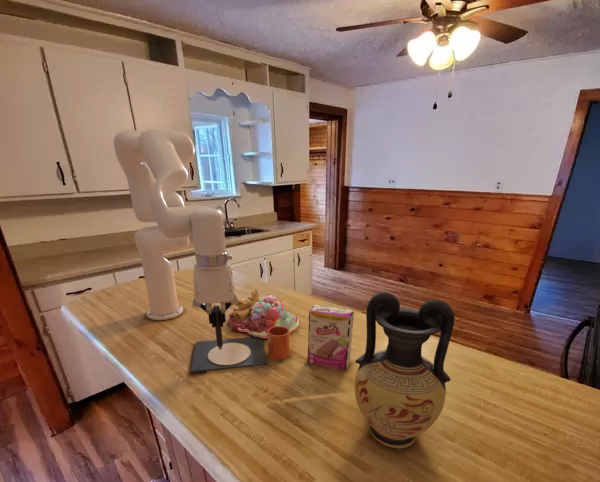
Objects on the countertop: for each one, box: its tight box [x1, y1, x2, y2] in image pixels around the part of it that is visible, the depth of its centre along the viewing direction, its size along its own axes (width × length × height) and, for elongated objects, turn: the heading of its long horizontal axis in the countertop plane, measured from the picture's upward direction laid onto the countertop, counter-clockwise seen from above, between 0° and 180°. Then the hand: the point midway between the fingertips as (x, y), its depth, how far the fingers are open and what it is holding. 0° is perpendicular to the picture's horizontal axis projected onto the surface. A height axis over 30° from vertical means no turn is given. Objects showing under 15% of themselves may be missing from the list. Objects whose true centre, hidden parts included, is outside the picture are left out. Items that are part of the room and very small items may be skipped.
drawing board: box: [190, 336, 268, 375], centre depth 97 cm, size 16×20×1 cm
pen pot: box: [267, 326, 291, 361], centre depth 96 cm, size 6×6×8 cm
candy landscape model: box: [226, 289, 299, 340], centre depth 115 cm, size 25×24×9 cm
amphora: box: [354, 291, 456, 449], centre depth 64 cm, size 18×17×30 cm
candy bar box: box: [307, 304, 355, 371], centre depth 90 cm, size 11×5×16 cm, turn 71°
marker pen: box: [212, 304, 223, 350], centre depth 92 cm, size 2×2×13 cm
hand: (217, 324), depth 92 cm, fingers closed on marker pen, 1 cm apart
